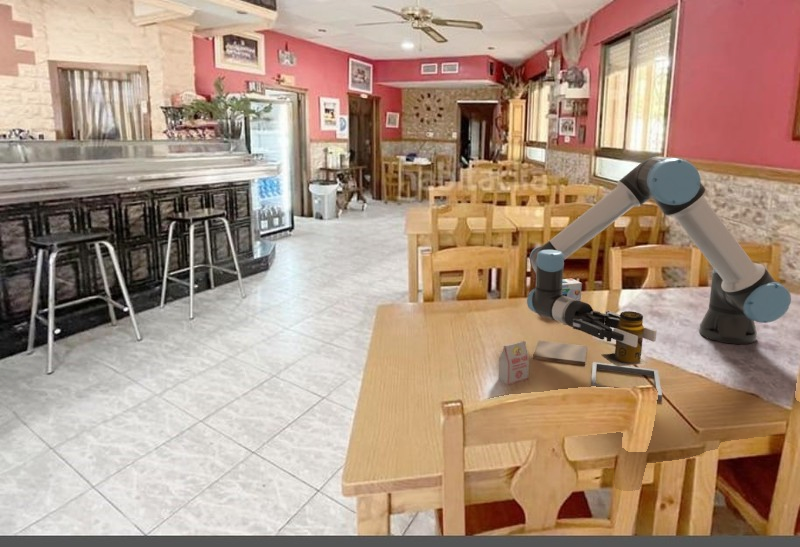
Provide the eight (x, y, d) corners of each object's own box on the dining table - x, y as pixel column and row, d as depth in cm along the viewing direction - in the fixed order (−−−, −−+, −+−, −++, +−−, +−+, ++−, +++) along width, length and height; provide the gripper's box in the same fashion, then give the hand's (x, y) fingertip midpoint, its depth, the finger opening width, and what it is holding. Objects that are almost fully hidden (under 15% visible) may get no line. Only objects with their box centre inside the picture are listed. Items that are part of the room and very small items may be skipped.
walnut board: (586, 349, 159) (587, 346, 158) (584, 365, 148) (585, 361, 148) (538, 343, 164) (538, 340, 163) (532, 358, 153) (533, 355, 153)
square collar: (657, 375, 141) (657, 369, 141) (661, 401, 128) (662, 395, 127) (592, 366, 147) (592, 361, 146) (590, 391, 133) (590, 385, 133)
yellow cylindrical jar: (648, 363, 133) (653, 317, 130) (617, 367, 131) (621, 320, 128) (629, 352, 139) (633, 308, 136) (600, 355, 138) (603, 311, 135)
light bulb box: (553, 314, 189) (555, 285, 187) (544, 308, 196) (545, 280, 193) (580, 311, 192) (582, 282, 189) (570, 306, 198) (572, 277, 196)
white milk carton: (498, 379, 141) (499, 343, 138) (518, 374, 144) (520, 338, 141) (507, 385, 137) (508, 348, 135) (528, 379, 140) (529, 343, 138)
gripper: (596, 319, 154) (669, 345, 135) (546, 332, 146) (617, 362, 126) (598, 294, 153) (672, 317, 133) (548, 305, 144) (620, 331, 124)
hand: (645, 338), depth 129 cm, fingers closed on yellow cylindrical jar, 6 cm apart
